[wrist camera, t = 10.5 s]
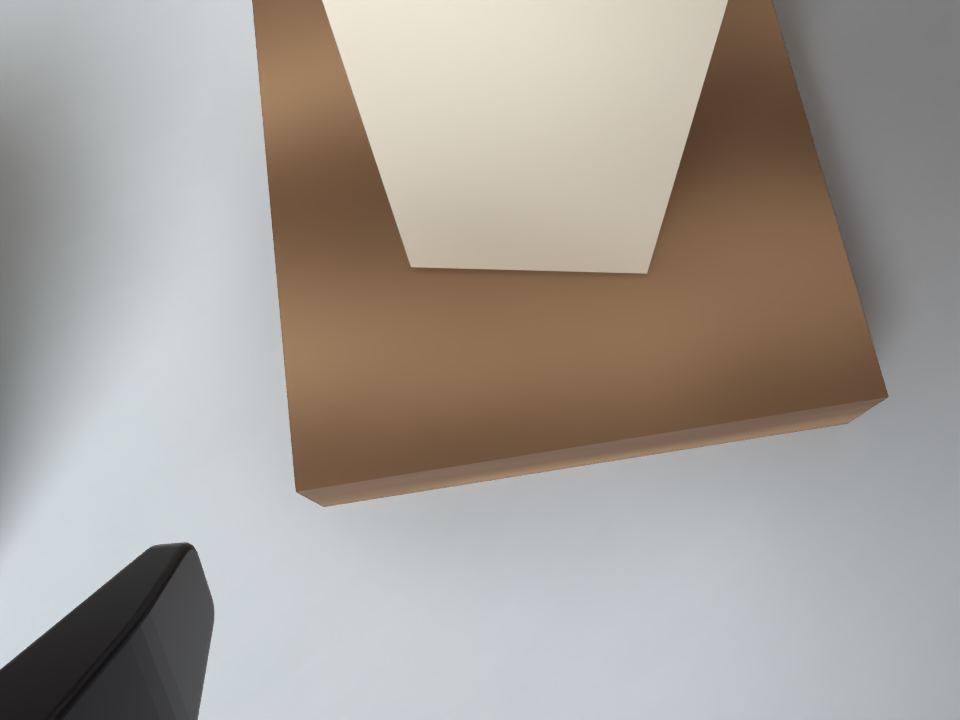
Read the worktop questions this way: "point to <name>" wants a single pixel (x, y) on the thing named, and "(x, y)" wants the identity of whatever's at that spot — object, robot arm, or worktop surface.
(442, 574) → the worktop surface
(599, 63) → the tea tin
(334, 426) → the walnut block
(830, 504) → the worktop surface
